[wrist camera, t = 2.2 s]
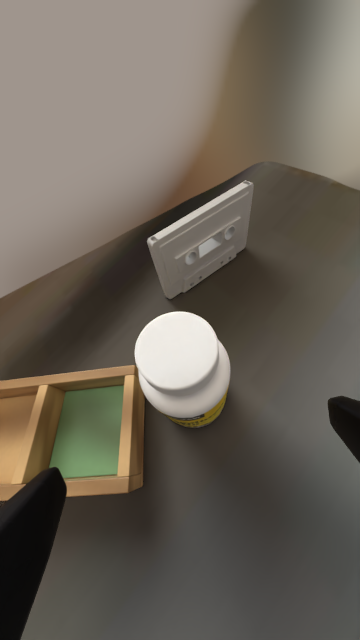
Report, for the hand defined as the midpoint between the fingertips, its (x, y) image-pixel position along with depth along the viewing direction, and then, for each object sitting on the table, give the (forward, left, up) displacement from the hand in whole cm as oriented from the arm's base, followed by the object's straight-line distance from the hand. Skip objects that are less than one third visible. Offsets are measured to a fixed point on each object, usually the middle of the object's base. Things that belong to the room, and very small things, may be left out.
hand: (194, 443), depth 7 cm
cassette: (+18, -2, -11) cm, 21 cm away
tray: (+2, +13, -11) cm, 17 cm away
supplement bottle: (+4, +1, -11) cm, 12 cm away
